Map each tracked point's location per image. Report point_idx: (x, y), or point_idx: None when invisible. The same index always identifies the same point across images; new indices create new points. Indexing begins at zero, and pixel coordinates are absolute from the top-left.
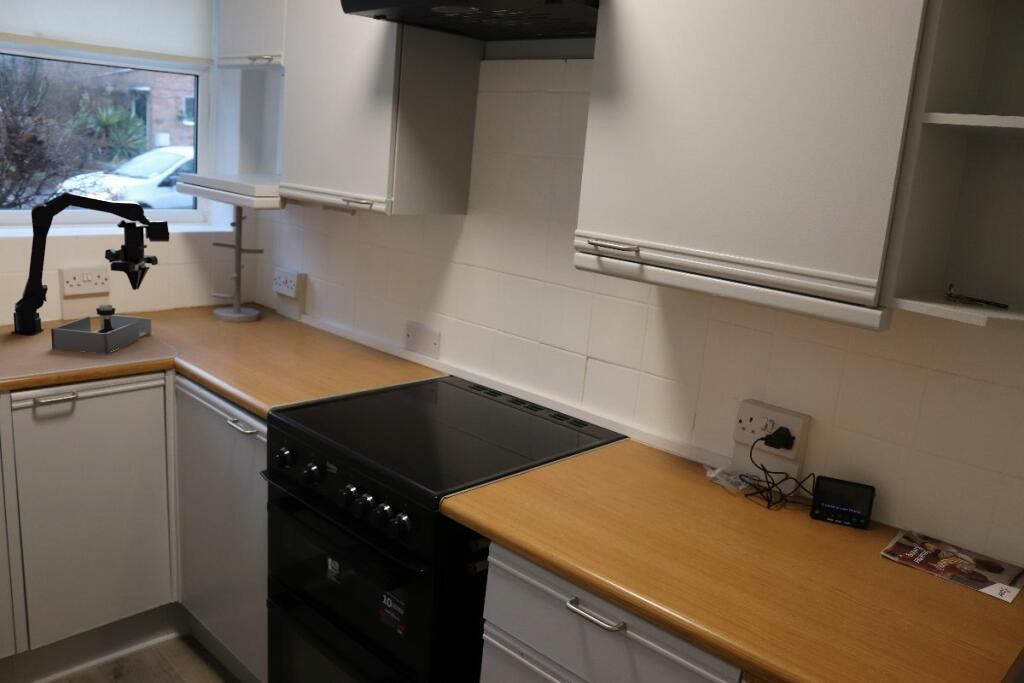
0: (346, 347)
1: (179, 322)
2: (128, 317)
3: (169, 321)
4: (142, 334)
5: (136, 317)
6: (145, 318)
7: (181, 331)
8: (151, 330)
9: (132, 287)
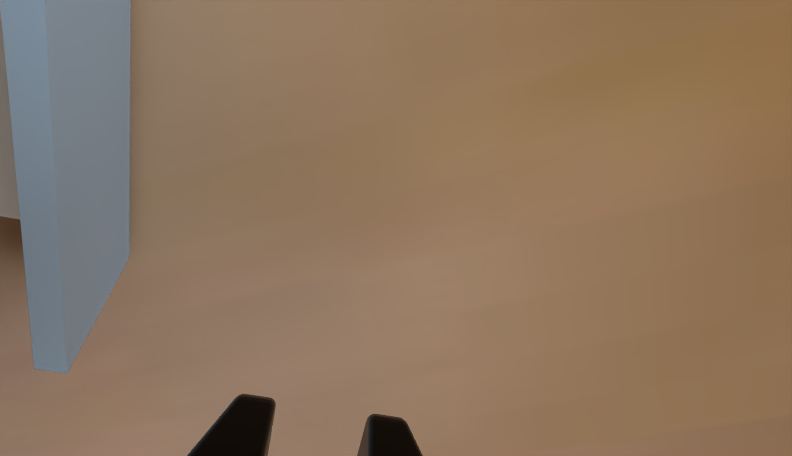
0: None
1: (704, 346)
2: (13, 109)
3: (754, 262)
4: (5, 212)
5: (32, 219)
6: (35, 322)
7: (337, 421)
8: (114, 278)
9: (206, 443)
